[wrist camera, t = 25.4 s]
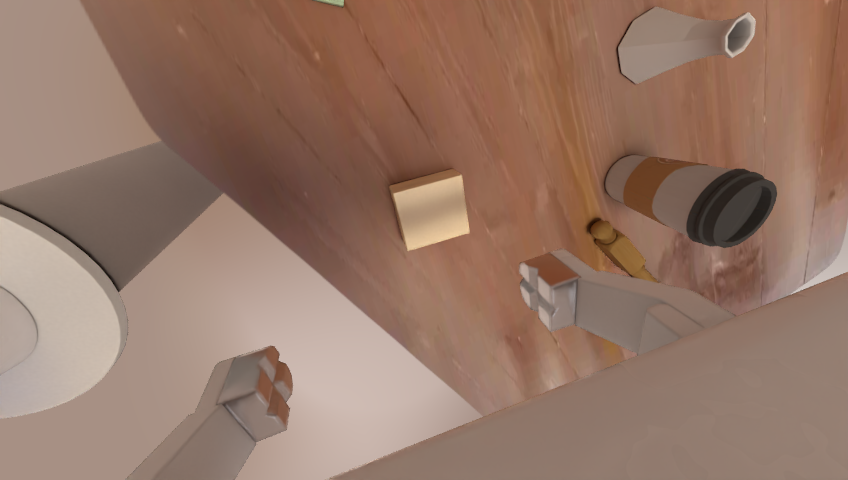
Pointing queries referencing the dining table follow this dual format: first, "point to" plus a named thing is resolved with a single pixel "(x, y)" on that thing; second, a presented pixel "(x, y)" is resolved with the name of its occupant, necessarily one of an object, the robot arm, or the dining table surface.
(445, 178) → the plate
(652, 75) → the flask
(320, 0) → the mat
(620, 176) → the coffee cup
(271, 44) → the dining table surface
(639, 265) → the tap handle
